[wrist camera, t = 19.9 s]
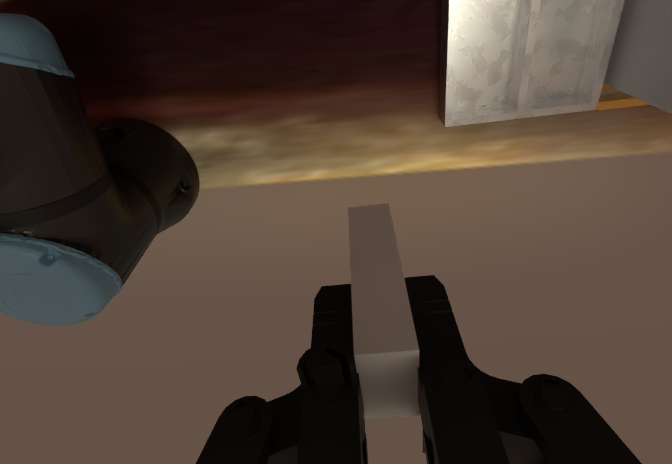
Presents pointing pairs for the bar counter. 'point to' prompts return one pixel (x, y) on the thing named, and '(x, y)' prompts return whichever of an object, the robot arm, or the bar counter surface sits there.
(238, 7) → the bar counter surface
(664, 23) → the blanking panel
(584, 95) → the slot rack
